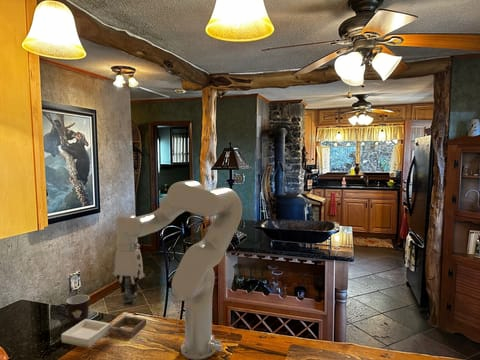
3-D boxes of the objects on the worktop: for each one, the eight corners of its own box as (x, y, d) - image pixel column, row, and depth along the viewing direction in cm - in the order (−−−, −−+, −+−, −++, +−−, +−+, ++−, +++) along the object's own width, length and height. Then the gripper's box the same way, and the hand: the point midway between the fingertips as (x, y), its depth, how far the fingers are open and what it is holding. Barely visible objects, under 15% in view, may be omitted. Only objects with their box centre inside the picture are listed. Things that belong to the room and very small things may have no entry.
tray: (110, 330, 128) (110, 323, 128) (88, 347, 117) (88, 339, 116) (85, 325, 131) (85, 318, 131) (61, 342, 120) (61, 334, 120)
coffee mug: (94, 318, 138) (93, 295, 137) (82, 328, 129) (81, 304, 128) (68, 316, 139) (67, 293, 138) (55, 327, 130) (54, 302, 130)
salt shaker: (132, 307, 125) (131, 277, 124) (118, 306, 126) (117, 276, 125) (140, 301, 130) (139, 271, 130) (126, 299, 132) (125, 271, 131)
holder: (146, 325, 133) (146, 319, 133) (131, 338, 123) (131, 331, 123) (125, 321, 135) (125, 315, 135) (109, 333, 126) (109, 327, 126)
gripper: (151, 245, 128) (152, 290, 129) (115, 242, 133) (117, 286, 134) (140, 250, 121) (142, 298, 122) (103, 247, 125) (105, 293, 127)
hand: (129, 291), depth 128 cm, fingers closed on salt shaker, 3 cm apart
